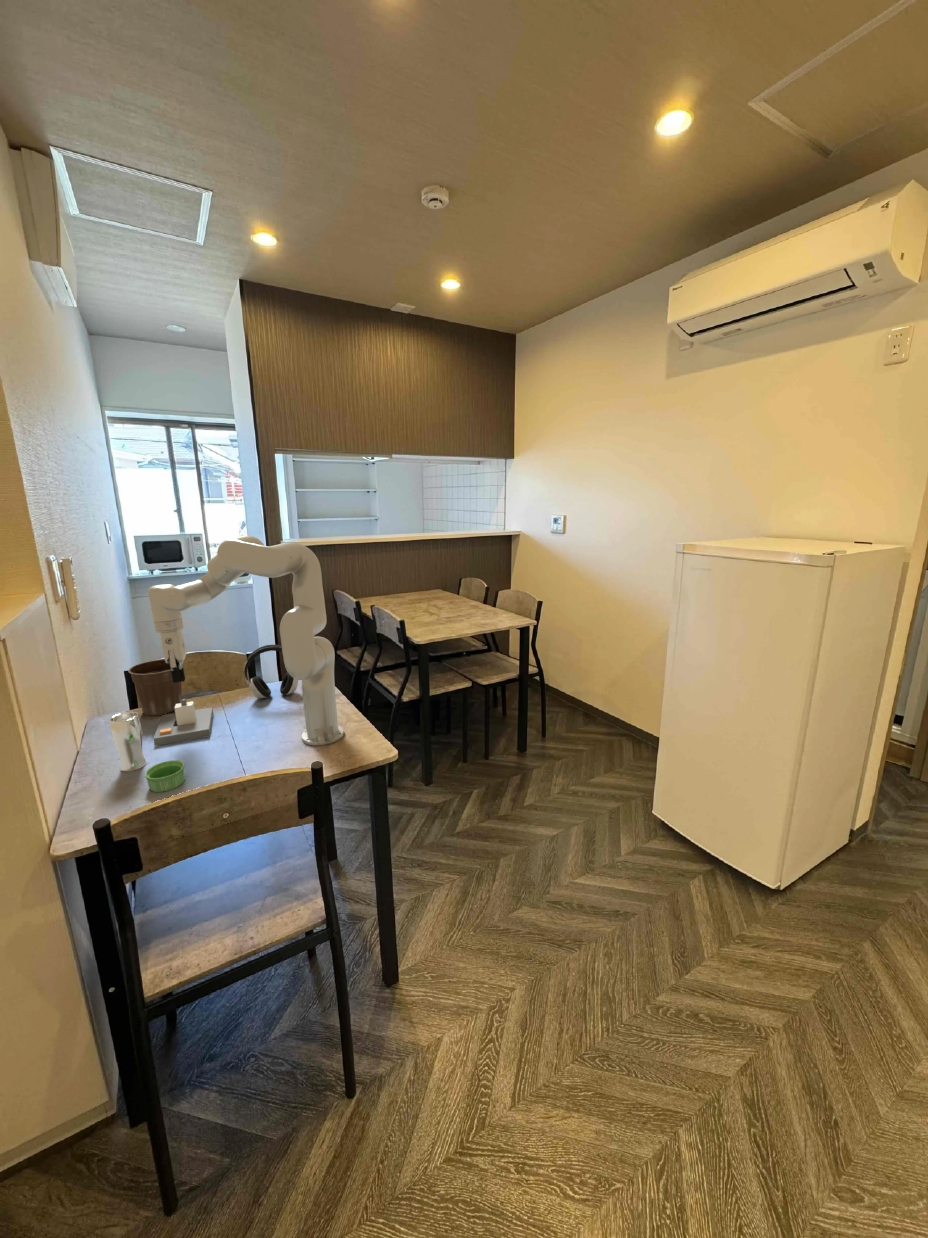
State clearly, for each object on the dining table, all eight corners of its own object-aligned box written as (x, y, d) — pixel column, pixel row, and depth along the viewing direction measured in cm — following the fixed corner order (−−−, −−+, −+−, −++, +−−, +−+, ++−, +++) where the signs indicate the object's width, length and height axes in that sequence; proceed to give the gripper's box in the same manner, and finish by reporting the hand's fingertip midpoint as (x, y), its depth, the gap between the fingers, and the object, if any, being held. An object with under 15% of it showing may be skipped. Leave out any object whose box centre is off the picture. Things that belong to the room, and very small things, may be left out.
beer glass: (126, 775, 135) (116, 724, 131) (113, 768, 139) (103, 718, 135) (153, 763, 141) (143, 714, 137) (140, 757, 144) (131, 709, 141)
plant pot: (193, 697, 187) (186, 656, 183) (184, 714, 172) (177, 670, 168) (143, 703, 182) (135, 661, 178) (130, 722, 167) (121, 676, 163)
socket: (209, 736, 156) (208, 726, 156) (154, 745, 151) (152, 736, 150) (213, 713, 173) (212, 705, 172) (163, 721, 167) (162, 712, 166)
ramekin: (168, 772, 136) (165, 758, 135) (194, 777, 134) (192, 762, 133) (139, 791, 128) (136, 775, 127) (166, 796, 125) (163, 780, 124)
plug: (196, 728, 161) (191, 700, 159) (178, 731, 159) (173, 703, 157) (197, 723, 164) (192, 696, 162) (179, 726, 162) (175, 699, 160)
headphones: (301, 688, 194) (296, 639, 189) (303, 696, 186) (298, 645, 181) (247, 696, 187) (240, 645, 182) (247, 705, 179) (240, 652, 174)
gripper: (179, 628, 148) (190, 687, 152) (185, 618, 161) (195, 672, 166) (150, 632, 145) (162, 691, 149) (158, 621, 158) (169, 675, 163)
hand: (179, 681), depth 158 cm, fingers closed
